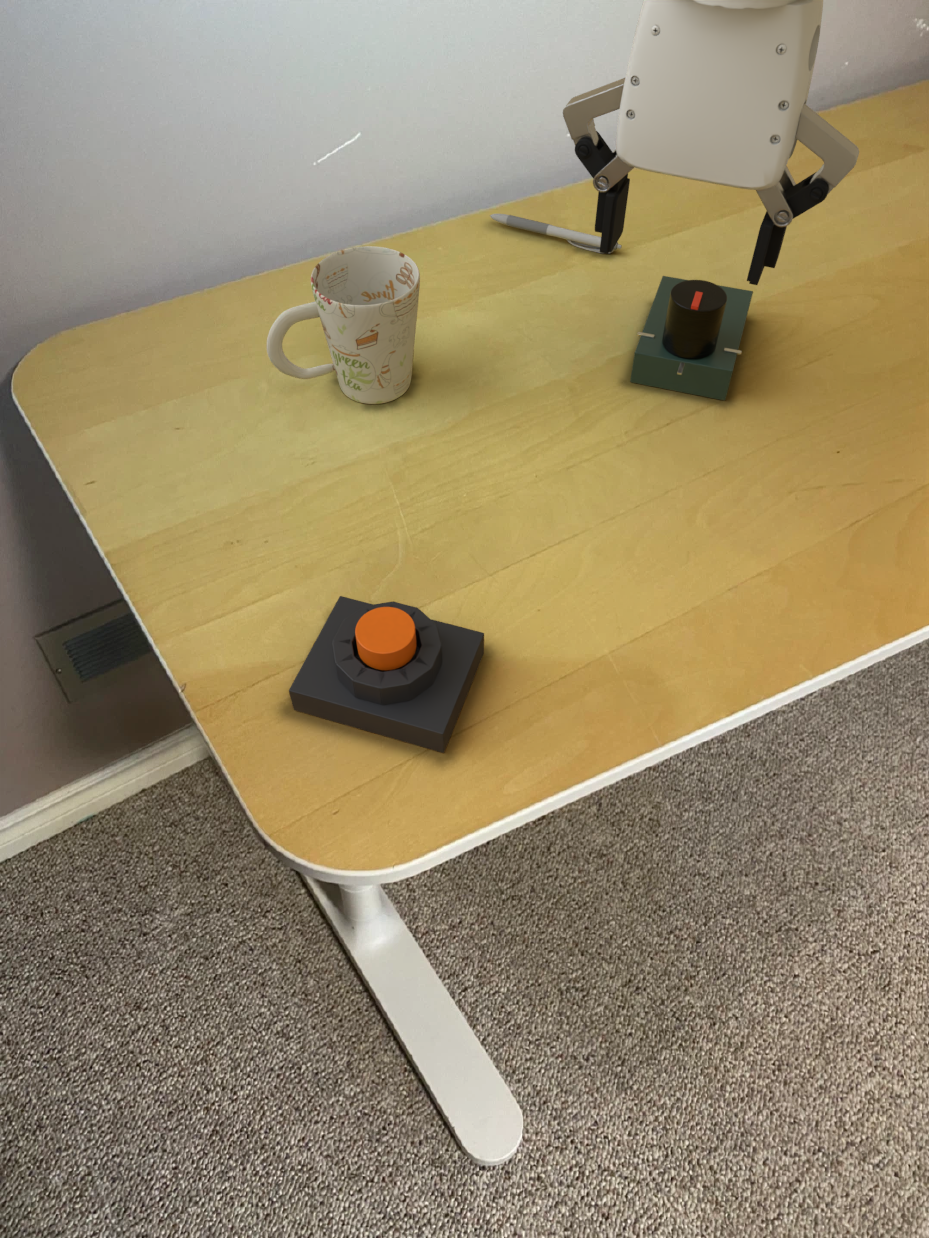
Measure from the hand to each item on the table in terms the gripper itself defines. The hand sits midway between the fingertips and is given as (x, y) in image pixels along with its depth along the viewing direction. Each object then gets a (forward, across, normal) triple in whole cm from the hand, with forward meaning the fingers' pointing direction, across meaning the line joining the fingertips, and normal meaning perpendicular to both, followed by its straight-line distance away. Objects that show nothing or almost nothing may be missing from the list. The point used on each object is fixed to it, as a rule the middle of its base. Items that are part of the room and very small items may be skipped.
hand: (682, 258), depth 62 cm
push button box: (+16, +9, +28) cm, 33 cm away
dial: (+13, 0, -11) cm, 17 cm away
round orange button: (+13, +9, +27) cm, 32 cm away
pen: (+17, +17, -27) cm, 36 cm away
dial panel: (+16, 0, -14) cm, 22 cm away
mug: (+17, +25, +2) cm, 30 cm away
